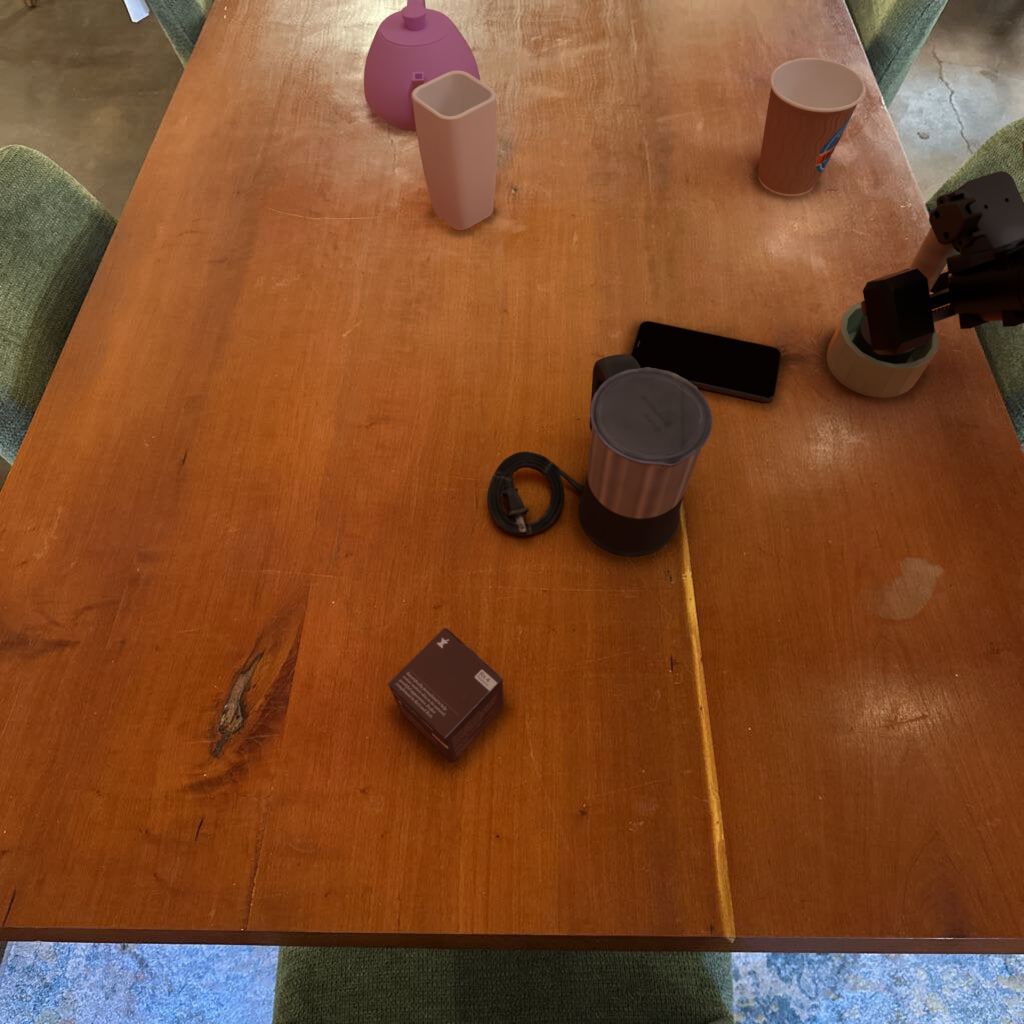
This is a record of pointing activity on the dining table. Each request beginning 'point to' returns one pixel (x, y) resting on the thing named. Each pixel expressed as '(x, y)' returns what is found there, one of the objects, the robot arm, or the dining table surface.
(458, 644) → the box
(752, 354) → the smartphone
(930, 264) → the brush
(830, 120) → the coffee cup
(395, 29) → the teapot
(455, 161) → the cup
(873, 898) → the dining table surface
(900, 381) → the pale green bowl
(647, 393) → the milk frother
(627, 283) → the dining table surface
